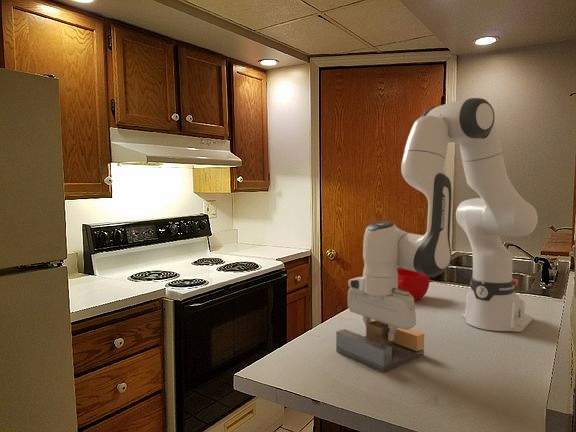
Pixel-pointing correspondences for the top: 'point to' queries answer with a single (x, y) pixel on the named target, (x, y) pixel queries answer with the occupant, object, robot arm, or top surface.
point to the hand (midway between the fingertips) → (379, 336)
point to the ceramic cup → (413, 283)
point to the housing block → (378, 332)
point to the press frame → (374, 351)
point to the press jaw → (409, 338)
